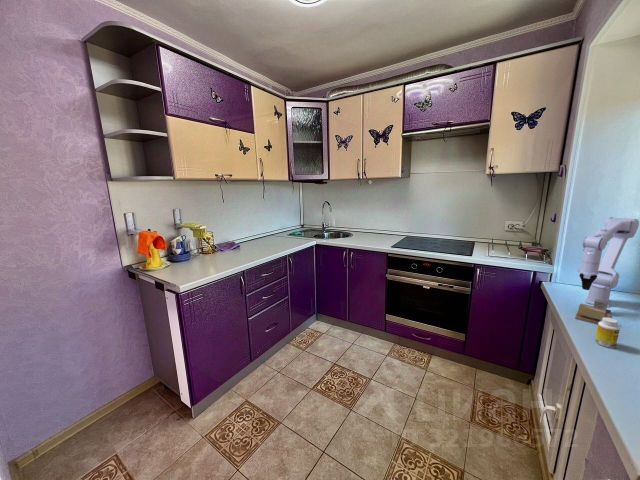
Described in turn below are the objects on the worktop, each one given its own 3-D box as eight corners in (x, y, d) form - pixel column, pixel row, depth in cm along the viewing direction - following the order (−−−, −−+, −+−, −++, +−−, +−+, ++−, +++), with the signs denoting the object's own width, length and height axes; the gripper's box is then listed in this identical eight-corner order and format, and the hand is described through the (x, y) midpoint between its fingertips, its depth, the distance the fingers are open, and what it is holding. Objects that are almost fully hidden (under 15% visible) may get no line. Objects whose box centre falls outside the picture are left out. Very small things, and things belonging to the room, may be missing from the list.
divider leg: (578, 313, 121) (580, 304, 120) (603, 319, 115) (605, 310, 114) (577, 315, 119) (579, 306, 118) (603, 322, 113) (605, 312, 112)
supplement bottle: (614, 350, 97) (619, 325, 95) (592, 343, 101) (597, 319, 99) (617, 344, 100) (622, 320, 98) (596, 338, 104) (601, 314, 102)
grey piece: (593, 307, 126) (595, 298, 125) (606, 310, 123) (607, 301, 122) (589, 319, 116) (591, 309, 115) (603, 322, 113) (605, 312, 112)
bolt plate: (581, 305, 131) (581, 303, 130) (610, 312, 123) (611, 309, 123) (575, 318, 119) (575, 316, 119) (607, 327, 111) (608, 324, 111)
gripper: (581, 257, 129) (576, 283, 132) (576, 263, 120) (571, 291, 123) (601, 260, 124) (596, 287, 127) (598, 266, 115) (593, 295, 118)
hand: (585, 289), depth 124 cm, fingers closed
